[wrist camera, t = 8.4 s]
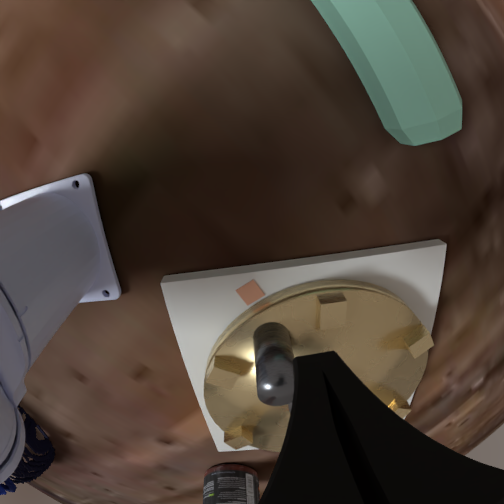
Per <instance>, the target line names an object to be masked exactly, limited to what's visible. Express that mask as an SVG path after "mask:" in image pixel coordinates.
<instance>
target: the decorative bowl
mask: <svg viewBox="0 0 504 504" xmlns="http://www.w3.org/2000/svg"><path fill="white" fill-rule="evenodd" d="M17 407H19V408H20V409H19V412H20V414H21V416H22V414H23V412H24V414H26V412H25V411H24V410H23V408H21V407H20V406H19V405H18V406H17ZM25 416H26V419H25V421H24V427H25V440H26V441H25V442H26V443H27V444H28V445H29V447H30V448H31V449H32V450H33V451H34V452H35V453H38V454H43V455H42V456H39V457H38V455H36V456H35V455H34V454H33V455H32V454H31V452H30V451H29V450H28V449H27V448H26V447H25V446H24V449H25V450H24V452H25V453H26V454H27V455H28V456H27V455H25V454H24V453H23V454H22V456H23V457H24V458H25V459H26V461H27V463H26V462H24V460H23V457H21V460H20V462H19V464H18V467H17V468H16V469H15V470H14V472H15V473H16V474H15V473H12V474H11V475H13V476H15V477H16V478H14V477H12V476H9V477H10V478H12V479H14V480H15V481H14V480H10V478H9V477H8V478H7V479H6V480H5V481H4V482H5V484H6V485H4V484H2V483H1V484H0V495H1V494H2V495H3V494H5V495H6V492H5V490H6V491H9V492H15V490H16V485H15V484H14V483H17V484H18V483H23V484H24V482H30V481H31V480H32V481H33V479H35V480H36V478H37V477H39V476H41V474H43V472H44V471H46V469H48V468H49V466H51V463H52V462H53V460H54V456H55V452H54V451H55V449H54V448H53V447H52V446H53V445H52V444H51V442H50V440H49V438H48V437H47V435H46V434H45V433H44V431H43V430H42V429H41V428H40V426H39V425H37V424H36V423H35V421H34V420H33V419H31V418H30V416H29V415H28V414H26V415H25ZM35 427H37V428H38V429H39V430H40V432H41V433H42V434H43V435H44V438H45V440H38V439H37V438H36V436H37V435H36V429H35ZM47 451H48V453H47ZM45 453H46V455H44V454H45ZM30 456H31V457H30ZM28 457H30V458H33V460H30V461H29V458H28ZM42 464H43V465H42ZM33 471H34V472H33ZM20 477H21V478H20ZM23 477H24V478H23ZM22 478H23V479H22Z"/></svg>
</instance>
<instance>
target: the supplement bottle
mask: <svg viewBox="0 0 504 504" xmlns="http://www.w3.org/2000/svg"><path fill="white" fill-rule="evenodd" d="M259 501H260V494H259V480H258V475H257V472H256V471H255V470H253V469H252V468H250V467H247V466H244V465H239V464H221V465H217V466H214V467H211V468H210V469H208V470H207V471H206V472H205V478H204V491H203V504H258V503H259Z"/></svg>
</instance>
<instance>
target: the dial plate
mask: <svg viewBox="0 0 504 504" xmlns="http://www.w3.org/2000/svg"><path fill="white" fill-rule="evenodd" d="M446 246H447V244H446V243H444V242H443V241H441V240H440V239H435V240H428V241H421V242H414V243H408V244H401V245H394V246H387V247H380V248H373V249H365V250H358V251H351V252H344V253H337V254H329V255H322V256H314V257H307V258H300V259H292V260H284V261H277V262H269V263H261V264H254V265H246V266H238V267H230V268H222V269H214V270H206V271H198V272H190V273H182V274H173V275H165V276H163V279H162V281H161V283H160V284H161V288H162V291H163V295H164V298H165V302H166V305H167V309H168V312H169V316H170V319H171V322H172V326H173V329H174V332H175V335H176V338H177V341H178V345H179V348H180V351H181V354H182V357H183V360H184V363H185V366H186V368H187V371H188V374H189V377H190V380H191V383H192V385H193V388H194V391H195V394H196V396H197V399H198V402H199V404H200V407H201V410H202V412H203V415H204V417H205V420H206V422H207V425H208V427H209V430H210V432H211V435H212V437H213V440H214V442H215V444H216V447H217V449H218V451H219V452H221V451H238V450H251V449H258V448H255V447H252V446H249V445H248V446H245V447H242V448H240V449H237V450H235V449H233V448H232V447H230V446H229V445H227V444H225V443H224V431H223V430H222V429H221V428H220V427H219V426H218V425H217V424H216V423H215V422H214V420H213V419H212V418H211V416H210V414H209V412H208V410H207V408H206V405H205V400H204V378H205V370H206V365H207V360H208V357H209V355H210V352H211V350H212V347H213V346H214V344H215V342H216V341H217V339H218V337H219V336H220V335H221V334H222V332H223V331H224V330H225V329H226V328H227V326H228V325H229V324H230V323H231V322H233V321H234V320H235V319H236V318H237V317H238V316H239V315H240V314H242V313H243V312H244V311H246V310H247V309H249V308H250V307H251V306H253V305H254V304H256V303H258V302H260V301H262V300H263V299H265V298H267V297H269V296H271V295H273V294H276V293H278V292H281V291H283V290H285V289H288V288H291V287H295V286H298V285H302V284H305V283H311V282H316V281H322V280H335V279H345V280H358V281H363V282H368V283H372V284H375V285H378V286H381V287H384V288H385V289H387V290H389V291H391V292H393V293H394V294H396V295H397V296H398V297H399V298H401V299H402V300H403V301H404V302H405V303H406V304H407V306H408V307H409V308H410V309H411V310H412V311H413V313H414V314H415V315H416V316H417V318H418V319H419V320H420V321H421V323H422V324H423V325H424V326H425V327H426V329H427V330H428V331H429V332H430V335H431V332H432V328H433V324H434V319H435V314H436V310H437V305H438V299H439V294H440V288H441V282H442V276H443V269H444V262H445V255H446ZM414 392H415V391H414ZM414 392H413V394H412V395H411V397H410V398H409V399H408V400H407V402H408V404H409V406H410V404H411V401H412V398H413V395H414ZM405 417H406V416H405ZM405 417H404V418H403V419H405Z"/></svg>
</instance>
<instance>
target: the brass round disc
mask: <svg viewBox="0 0 504 504" xmlns="http://www.w3.org/2000/svg"><path fill="white" fill-rule="evenodd" d="M432 346H434V343H433V340H432V338H431V335H430V332H429V331H428V330H427V329H426V327H425V326H424V325H423V324H422V323H421V321H420V320H419V319H418V318H417V316H416V315H415V314H414V313H413V311H412V310H411V309H410V308H409V307H408V306H407V304H406V303H405V302H404V301H403V300H402V299H401V298H399V297H398V296H397V295H396V294H394V293H393V292H391V291H389V290H387V289H385V288H384V287H381V286H378V285H375V284H372V283H368V282H363V281H358V280H345V279H335V280H322V281H316V282H311V283H305V284H302V285H298V286H295V287H291V288H288V289H285V290H283V291H281V292H278V293H276V294H273V295H271V296H269V297H267V298H265V299H263V300H262V301H260V302H258V303H256V304H254V305H253V306H251V307H250V308H249V309H247V310H246V311H244V312H243V313H242V314H240V315H239V316H238V317H237V318H236V319H235V320H234V321H233V322H231V323H230V324H229V325H228V326H227V328H226V329H225V330H224V331H223V332H222V334H221V335H220V336H219V337H218V339H217V341H216V342H215V344H214V346H213V347H212V350H211V352H210V355H209V357H208V360H207V365H206V370H205V378H204V400H205V405H206V408H207V410H208V412H209V414H210V416H211V418H212V419H213V420H214V422H215V423H216V424H217V425H218V426H219V427H220V428H221V429H222V430H223V431H224V443H225V444H227V445H229V446H230V447H232V448H233V449H235V450H237V449H240V448H242V447H245V446H248V445H249V446H252V447H255V448H258V449H263V450H268V451H274V452H280V451H281V448H282V445H283V442H284V438H285V435H286V431H287V427H288V422H289V418H290V414H291V408H292V401H293V394H294V377H293V359H294V358H295V357H297V356H304V355H310V354H316V353H322V352H327V351H333V350H334V351H335V352H337V354H338V355H339V356H340V357H341V359H342V360H343V361H344V362H345V363H346V365H347V366H348V367H349V368H350V369H351V370H352V371H353V372H354V374H355V375H356V376H357V377H358V378H359V379H360V380H361V381H362V382H363V383H364V384H365V385H366V386H367V387H368V388H369V389H370V390H371V391H372V392H373V393H374V394H375V395H376V396H377V397H378V398H379V399H380V400H381V401H382V402H383V403H384V404H386V405H387V406H388V407H389V408H390V409H391V410H393V411H394V412H395V413H396V414H397V415H399V416H400V417H401V418H402V419H403V418H404V417H405V416H406V415H407V414H408V413H409V412H410V411H411V410H412V409H411V407H410V406H409V404H408V402H407V400H408V399H409V398H410V397H411V395H412V394H413V392H414V391H415V390H416V388H417V386H418V384H419V383H420V381H421V379H422V376H423V374H424V371H425V368H426V364H427V360H428V350H429V349H430V348H431V347H432Z"/></svg>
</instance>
